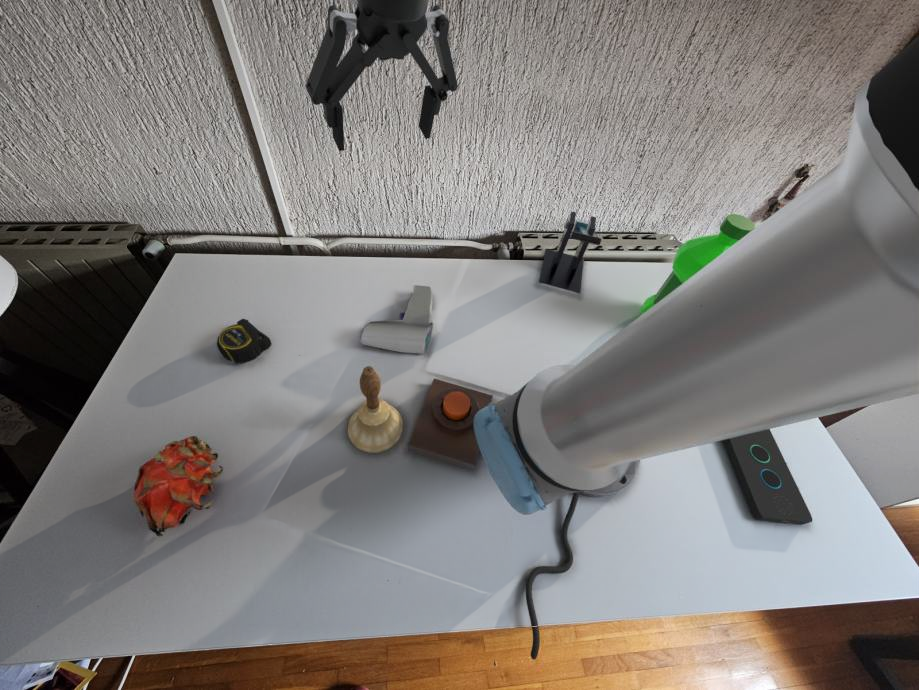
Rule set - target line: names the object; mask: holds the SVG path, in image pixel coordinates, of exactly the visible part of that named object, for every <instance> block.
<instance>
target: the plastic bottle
mask: <svg viewBox="0 0 919 690" xmlns="http://www.w3.org/2000/svg"><path fill="white" fill-rule="evenodd" d="M755 228H756V223H754V222H753V221H752V220H751V219H750V218H748V217H747V216H746V217H745V216H744V215H743V214H742V215H741V214H737V213H731V214H727V215H726V216H725V218H724V219H723V220H722V222H721V223H720V225H719V230H720V231H719V232H718V233H717V234H709V235H702V236H698V237H695V238H692V239H688V240H686V241H685V242H683V243H682V244H681V245H680V246H679V247H678V249H677V251H676V253H675V255H674V259H673V263H672V271H671V272H670V274H669V275H668V277H666V280H665V281H664V282H663V283H662V285H661V286H660V288H659V289H658V291H657V292H656V294H653V295H651V296H649V297H648V298H646V299H645V300H644V302H643V304H642V307H641V311H640V316H641V315H642V314H644V313H645V312H646V311H647V310H649V309H650V308H651V307H653V306H654V305H655V304H657V303H658V302H659V301H661V300H662V299H663V298H664V297H666V296H667V295H668V294H670V293H671V292H672V291H674V290H675V289H676V288H678V287H679V286H680V285H681V284H683V283H684V282H685V281H687V280H688V279H689V278H691V277H692V276H693V275H695V274H696V273H697V272H698V271H700V270H701V269H702V268H704V267H705V266H706V265H708V264H709V263H710V262H712V261H713V260H714V259H715V258H717V257H718V256H719V255H721V254H722V253H723V252H725V251H726V250H727V249H729V248H730V247H731V246H732V245H734V244H735V243H736V242H738V241H739V240H740V239H742V238H743V237H744V236H746V235H747V234H748V233H749V232H751V231H752V230H753V229H755Z"/></svg>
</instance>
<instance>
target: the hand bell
mask: <svg viewBox="0 0 919 690" xmlns="http://www.w3.org/2000/svg"><path fill="white" fill-rule="evenodd" d="M381 384H382V382H381V377H380V375H379V374H378V373H377V371H376V370H375V369H374V367H372V366H371V365H367V366H365V367H364V368H363V369H362V373H361V374H360V378H359V388H360V391H361V394H362V395H363V396H364V397H365V398H366V399H365V400H364V401H362V403H361V404H360V405H359V407H358V409H357V410H355V411H354V412H353V413H352V415H351V417H350V419H349V421H348V424H347V435H348V439H349V441H350V442H351V444H352V445H353V447H355V448H356V449H358V450H360V451H362V452H365V453H369V454H377V453H382V452H385V451H388V450H390V449H391V448H392V447H393V446H395V445H396V444H397V443H398V442H399V441H400V438H401V437H402V435H403V434H402V433H403V431H404V420H403V416H402V415H401V413H400V412H399V411H398V410H397V409H396V408H395V407H394V406H393V405H390V404H389V403H387V401H385V400H384V399H382V398H380V397H379V394H380V392H381V388H382V385H381Z"/></svg>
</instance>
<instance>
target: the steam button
mask: <svg viewBox="0 0 919 690" xmlns="http://www.w3.org/2000/svg"><path fill="white" fill-rule="evenodd" d="M469 409H470V400H469V398H468V397H467V396H466V395H465V394H464V393H461V392H451V393H449V394H448V395H446V397H445V398H444V402H443V412H444V414H445V416H446V417H447V418H449V419H451V420H454V421H459V420H462V419H464V418H465V417H466V416H467V415H468V413H469Z"/></svg>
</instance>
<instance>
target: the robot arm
mask: <svg viewBox="0 0 919 690" xmlns="http://www.w3.org/2000/svg"><path fill="white" fill-rule="evenodd" d="M428 5H429V0H357V4H356V8H355V10H354V12H353V13H350V12H344V11H340V9H339V8H338V7H337V6H336V5H335V4H332V5H330V6H328V8H327V17H326V21H327V22H326V29H325V32H324V35H323V38H322V40H321V43H320V46H319V48H318V50H317V54H316V57H315V59H314V62H313V64H312V67H311V69H310V72H309V74H308V78H307V80H306V82H305V89H306V91H307V94H308V96H309V98H310V100H311V102H312V104H314V105H315V106H319V105H320V104H321V105H322V108H323V119H324V120H325V122H326V125H327V126H328V128H329V129H331V134H332V139H333V141H334V144H335V145H336V147H337V149H338V151H339V152H343V151H345V128H344V109H343V106H342V104H341V102H340V101H341V100H342V99H343V98H344V97H345V95H346V94H347V93H348V91H350V88H351V87H353V85H354V84H355V83H356V81H357V79H359V77H360V76H361V74H362V73H363V72H364V71H365V70H366V68H370V67H372V65H373V64H374V63H375V62H376V60H377V59H379V61H382V62H383V61H388V60H391V59H394V60H405V57H407V56H408V55H409V54H410V56H411V58H413V60H414V62H415V63H416V65H417V66H418V67H419V69H420V70H421V72H422V73H423V75H424V76H425V78H426V79H427V81H428V83H429V84H430V85H424V91H423V96H422V102H421V107H420V108H421V109H420V115H419V120H418V121H419V122H418V128H419V131H421V133H422V135H423V137H424V139H425V140H428V139H430V138H431V135H432V130H433V125H434V121H435V116H438V115H439V114H440V111H441V107H442V102H445V101H447V99H448V97H449V95H448V92H449V91H450V92H452V93H453V92H456V91H457V90H458V88H459V87H458V86H459V84H458V80H457V76H456V75H457V74H456V71H455V67H454V62H453V56H452V51H451V47H450V43H449V29H450V20H449V18H448V16H447V15H446V13H445V12H444V10H443V9H442V7H441V5H439V4H436V5H434V6H433V7H432V8H431V11H428ZM427 11H428V12H427ZM427 29H428V31H429V32H430V34H431V35H432V36H431V37H432V41H433V43H434V48H435V51H436V55H437V59H438V63H439V66H440V67H439V68H440V72H441V75H442V76H440V77H438V76H437V74H436V72H435V70H434V68H433V67H432V65H431V64H430V63H429V60H428V59H427V58H426V56H425V54H424V53H423V51H422V50H421V47H420V46H419V45H418V42H419V41H420V39H421V38H422V37H423V36H424V34H425V32H426V31H427ZM354 30H355V31H356V30H357V33H356V35H355V36H354V38H353V39H352V41H351V47H350V48H349V49H348V51H347V52H346V53H345V55H344V56H343V57H342V55H343V52H344V50H345V46H346V41H349V40H350V39H351V33H352V32H353V31H354ZM365 47H367V49H366V48H365ZM341 57H342V59H341ZM857 92H858V93H857V94H856V97H855V101H854V106H853V110H852V111H853V112H852V117H851V122H850V127H849V133H848V140H847V143H846V148H845V155H844V157H843V158H842V160H841V161H840V162H839V163H838V164H837V165H835V166H834V167H833V168H832V169H830V170H829V171H828V172H826V174H824V175H823V176H821V177H820V178H819V179H817V180H816V181H815V182H814V183H812V184H811V185H810V186H808V187H807V188H806V189H804V190H803V191H802V192H800V193H799V194H798V195H796V196H795V197H794V198H792V199H791V200H790V201H789V202H787V203H786V204H785V205H783V206H782V207H781V208H780V209H778V210H777V211H776V212H774V213H773V214H772V215H770V216H769V217H767V219H765V220H764V221H762V222H761V223H760V224H759V225H756V226H755V229H753V230H752V231H751V232H749V233H748V234H747V235H746V236H744V237H743V238H742V239H740V240H739V241H738V242H736V243H735V244H734V245H732V246H731V247H730V248H729V249H727V250H726V251H725V252H723V253H722V254H721V255H719V256H718V257H717V258H715V259H714V260H713V261H712V262H710V263H709V264H708V265H706V266H705V267H704V268H702V269H701V270H700V271H698V272H697V273H696V274H695V275H693V276H692V277H691V278H689V279H688V280H687V281H685V282H684V283H683V284H681V285H680V286H679V287H678V288H676V289H675V290H674V291H672V292H671V293H670V294H668V295H667V296H666V297H664V298H663V299H662V300H661V301H659V302H658V303H657V304H655V305H654V306H653V307H651V308H650V309H649V310H647V311H646V312H645V313H644V314H642V315H641V314H640V315H639V316H638V317H637V318H635V319H634V320H633V321H632V322H630V323H629V324H628V325H626V326H625V327H624V328H622V329H621V330H620V331H619V332H618V333H616V334H615V335H614V336H612V337H610V338H609V339H608V340H607V341H606V342H604V343H603V344H601V346H599V347H598V348H597V349H594V351H592V352H591V353H590V354H588V356H586V357H585V358H583V359H582V360H581V361H579V362H578V363H577V364H575V365H567V364H563V365H554V366H552V367H548V368H546V369H545V370H542V371H540V372H539V373H537V374H536V375H535V376H534V377H532V379H530V380H529V381H528V382H526V384H524V385H523V386H522V387H520V389H518V390H517V391H516V392H514V393H513V394H511V395H509V396H507V397H505V398H503V399H500V400H498V401H496V402H493V401H492V402H491V403H489V405H488V406H486V407H485V408H483V409H481V410H479V411H478V412H477V413H476V415H475V417H474V431H475V436H476V439H477V443H478V446H479V452H480V454H481V457H482V458H483V461H484V463H485V465H486V468H487V470H488V472H489V473H490V475H491V478H492V479H493V481H494V483H495V485H496V487H497V488H498V490H499V491H500V494H501V495H502V496H503V497H504V499H505V500H506V502H507V503H508V504H509V505H510V506H511V507H512V508H513V510H515V511H516V512H517V513H519V514H521V515H525V516H530V515H533V514H535V513H537V512H539V511H545V510H547V506H548V505H549V504H552V503H553V502H555V501H557V500H559V499H562V498H563V497H565V496H567V495H570V494H571V495H572V498H571V501H570V504H569V506H568V510H567V512H566V515H565V517H564V520H563V523H562V526H561V531H560V535H561V536H560V537H561V542H562V545H563V549H564V551H565V554H566V562H565V563H564V564H562V565H559V566H558V565H557V566H552V565H539V566H536V567H535V568H533V569H532V570H531V571H530V573H529V575H528V577H527V580H526V584H525V600H526V607H527V611H528V616H529V620H530V626H531V630H532V631H531V632H532V645H531V650H530V658H531V660H533V661H534V660H536V659H537V658H538V655H539V650H540V645H541V644H540V643H541V638H540V637H541V635H540V627H539V623H538V618H537V614H536V610H535V605H534V600H533V585H534V581H535V580H536V577H538V576H539V575H540V574H558V575H560V574H564V573H566V572H568V571H569V570H570V569H571V568H572V566H573V563H574V555H573V551H572V548H571V545H570V543H569V540H568V530H569V526H570V523H571V520H572V518H573V516H574V513H575V510H576V507H577V503H578V500H579V497H580V495H583V496H587V497H595V498H596V497H597V498H599V497H602V498H603V497H607V496H611V495H613V494H616V493H618V492H619V491H621V490H623V489H625V487H627V486H628V485H629V484H630V483H631V481H633V479H634V477H635V476H636V474H637V472H638V469H639V466H640V463H641V460H644V459H649V458H653V457H657V456H661V455H666V454H670V453H674V452H678V451H682V450H687V449H691V448H696V447H699V446H703V445H707V444H712V443H716V442H720V441H723V440H725V439H729V438H734V437H738V436H742V435H746V434H750V433H755V432H759V431H763V430H767V429H770V430H771V429H776V428H780V427H784V426H787V425H792V424H797V423H801V422H805V421H809V420H814V419H818V418H822V417H826V416H830V415H835V414H838V413H843V412H847V411H852V410H856V409H861V408H864V407H865V408H866V407H869V406H872V405H877V404H881V403H885V402H890V401H894V400H898V399H902V398H906V397H910V396H914V395H919V35H918V36H917V37H916V38H915V39H913V41H911V42H910V43H909V44H908V45H907V46H906V47H905V48H903V49H902V50H901V51H900V52H899V53H898V54H897V55H896V56H895V57H893V58H892V59H891V60H890V61H889V62H888V63H886V64H885V66H883V67H882V68H881V69H880V70H879V71H877V73H875V74H874V75H873V76H872V77H871V78H870V79H869V80H868V81H866V83H865V84H864V85H862V86H861V88H859V91H857ZM537 625H538V626H537ZM532 626H537V627H532Z"/></svg>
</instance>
